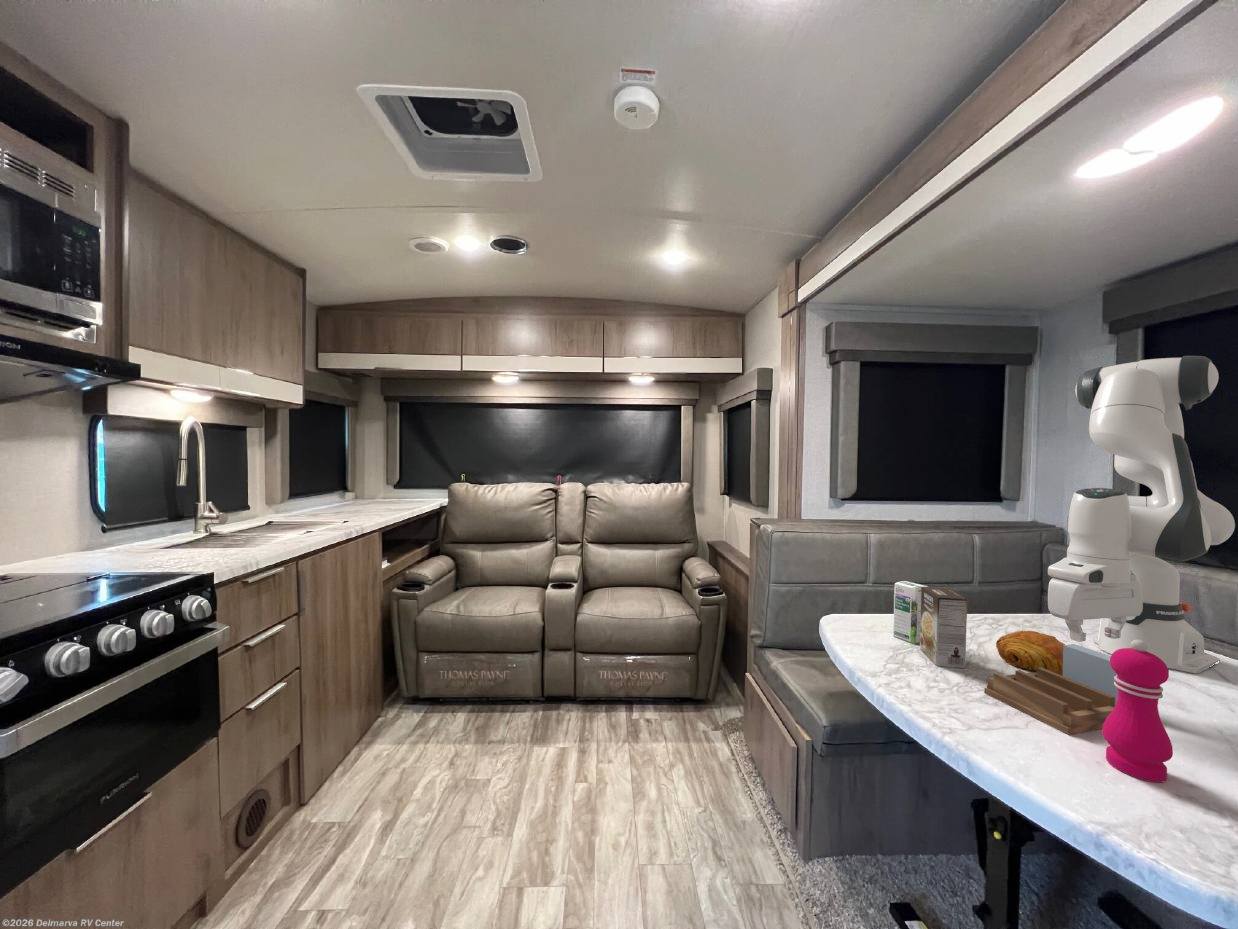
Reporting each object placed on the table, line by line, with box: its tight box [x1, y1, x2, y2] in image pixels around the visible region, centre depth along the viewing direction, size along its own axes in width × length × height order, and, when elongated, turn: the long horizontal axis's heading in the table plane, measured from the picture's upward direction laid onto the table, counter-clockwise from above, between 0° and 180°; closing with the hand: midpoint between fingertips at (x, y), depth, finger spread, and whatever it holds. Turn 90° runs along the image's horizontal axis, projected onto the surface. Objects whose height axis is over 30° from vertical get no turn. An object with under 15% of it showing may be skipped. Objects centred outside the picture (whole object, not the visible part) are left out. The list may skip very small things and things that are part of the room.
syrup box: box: [892, 580, 928, 644], centre depth 121 cm, size 6×6×14 cm
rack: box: [983, 667, 1115, 736], centre depth 88 cm, size 14×14×4 cm
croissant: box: [995, 630, 1066, 676], centre depth 107 cm, size 14×16×8 cm
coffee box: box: [919, 586, 968, 669], centre depth 109 cm, size 9×6×16 cm
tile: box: [1063, 643, 1118, 705], centre depth 92 cm, size 3×9×9 cm, turn 13°
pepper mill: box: [1101, 640, 1174, 783], centre depth 71 cm, size 7×7×20 cm
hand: (1095, 639), depth 91 cm, fingers open, 8 cm apart
